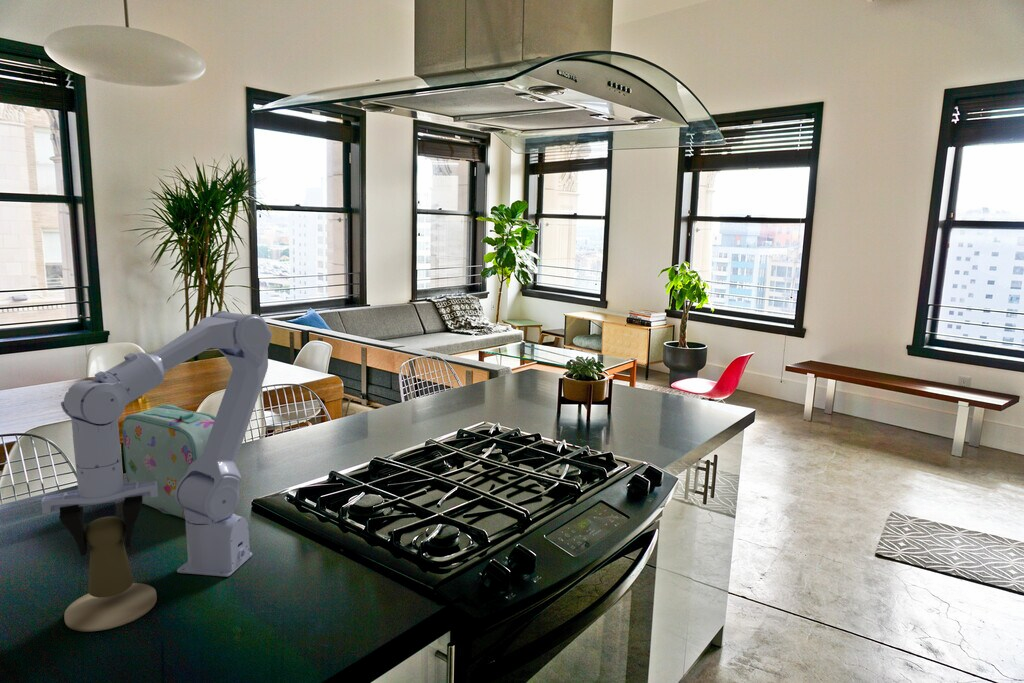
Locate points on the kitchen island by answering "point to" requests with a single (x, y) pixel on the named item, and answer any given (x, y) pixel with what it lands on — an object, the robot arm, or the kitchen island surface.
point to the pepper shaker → (107, 558)
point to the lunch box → (164, 450)
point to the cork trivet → (110, 609)
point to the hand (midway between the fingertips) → (106, 548)
